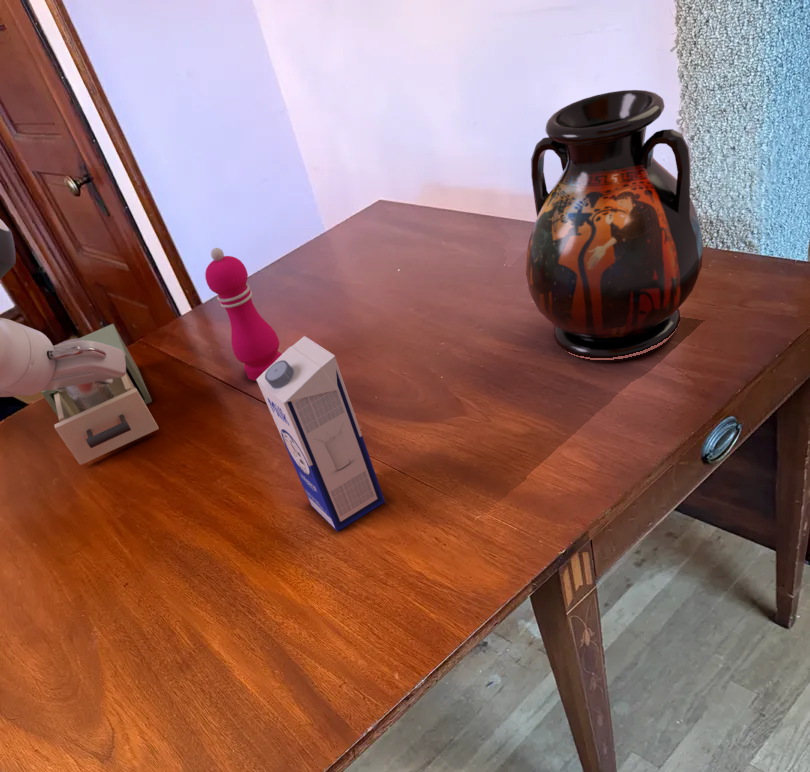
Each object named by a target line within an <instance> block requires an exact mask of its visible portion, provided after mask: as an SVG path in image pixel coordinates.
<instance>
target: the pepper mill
mask: <svg viewBox="0 0 810 772" xmlns="http://www.w3.org/2000/svg"><path fill="white" fill-rule="evenodd" d="M210 257H211V258H212V261H210V262H209V264H208V265H207V267H206V269H205V273H204V275H205V276H204V277H205V281H206V285H207V286H208V288H209V290H210V291H212V292H213V293H215V294H216V295H217V296H216V297H217V301H219V306H221V308H224V310H225V311H226V313H227V316H228V319H229V323H230V331H231V336H230V337H231V348H232V352H233V354H234V357H235V358H236V360H237V361H238V362H240V363H242V364H244V365H243V369H244V371H245V374H246V376H247V378H248V379H249V380H251V381H253V382H257V380H256V379H257V378H258V377H259V376H260V375H261V374H262V373H263V372H264V371H265V370H267V369H268V368H269V367H270V366H271V365H272V364H273V363H274V362H275V361H276V360H277V359H278V358H279V357H280V356H281V355H282V353H281V352H280V351H279V348H280V339H279V336H278V335H277V333H276V331H275V330H274V329H273V327H272V325H270V324H269V323H268V322H267V321H266V320H265V319H264V317H262V315H260V313H259V312H258V310H257V309H256V307H255V305H254V302H253V299H252V297H253V292H252V290H251V286H250V284H248V283H247V282H248V279H249V278H248V277H249V275H248V270H247V268H246V266H245V264H244V263H243V262H242V260H240V259H239V258H237V257H235V256H232V255H225V253H224V251H223V249H221V248H219V247H214V248H213V249H212V250H211V252H210Z"/></svg>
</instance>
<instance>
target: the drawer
mask: <svg viewBox="0 0 810 772" xmlns="http://www.w3.org/2000/svg"><path fill="white" fill-rule="evenodd" d="M109 386H110V388H111V389H112V391H113V393H114V394H115V396H116V397H114V398H112V399H110V400H108V401H106V402H103V403H101V404H99V405H97V406H94V407H92V408H90V409H88V410H86V411H83V412H81V413H80V412H79V410H78V408H77V407H76V405H75V404H74V402H73V401H72V399H71V397H70V396H69V394H68V393H67V391H63V392H60V391H57V392H54V397H55V402H56V407H57V412H58V416H57V418H58V417H59V418H58V421H59V422H57V423H55V424H53V426H54V429H55V430H56V432H57V433H58V435H59V437H60V438H61V439H62V441H63V442H64V444H65V445H66V447H67V448H68V450H69V451H70V453H71V454H72V456H73V457H74V458H75V460H76V461H77V463H78V464H79V465H80V466H83V465H84V464H86V463H88V462H90V461H92V460H95V459H97V458H99V457H102V456H103V455H105V454H106V455H107V454H108V453H110V452H112V451H114V450H116V449H118V448H121V447H123V446H126V445H128V444H129V443H132V442H134V441H136V440H138V439H140V438H142V437H144V436H147V435H149V434H152V433H153V432H155V431H158V430H159V426H158V423H157V422H156V420H155V419H154V417H153V415H152V413H151V411H150V409H149V408H148V406H147V404H145V403H144V401H143V399H142V397H141V396H140V394H139V392H138V390H137V389H136V387H135V385H134V384H133V382H132V380H131V378H130V377H129V375H128V373H127V371H126V373H125V375H124V376H123V377H120V378H114V379H113V382H112V383H109Z"/></svg>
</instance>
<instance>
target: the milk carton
mask: <svg viewBox="0 0 810 772" xmlns="http://www.w3.org/2000/svg"><path fill="white" fill-rule="evenodd" d="M256 380H257V381H256V383H257V384H258V387H259V389H260V392H261V394H262V397H263V399H264V400H265V402H266V405H267V407H268V411H269V412H270V414H271V417H272V418H273V421H274V423H275V426H276V428H277V430H278V432H279V435H280V438H281V439H282V442H283V445H284V447H285V448H286V451H287V453H288V455H289V458H290V461H291V463H292V465H293V467H294V470H295V471H296V474H297V476H298V478H299V481H300V483H301V486H302V488H303V490H304V492H305V495H306V497H307V500H308V501H309V504H310V506H311V507H312V508H313V509H314V510H315V511H316V512H317V513H318V514H319V515H320V516H321V517H322V518H323V519H324V520H325V521H326V522H327V523H328V524H329V525H330V526H331V527H332V529H334V530H335V531H336V532H340V531H341V530H343V529H345V528H346V527H348V526H349V525H351V524H353V523H354V522H356V521H357V520H359V519H361V518H362V517H364V516H366V515H367V514H369V513H370V512H372V511H373V510H375V509H376V508H378V507H380V506H382V505H383V504H385V503H386V500H385V497H384V494H383V492H382V489H381V486H380V483H379V480H378V477H377V475H376V471H375V468H374V466H373V463H372V460H371V457H370V454H369V451H368V448H367V445H366V443H365V440H364V437H363V434H362V431H361V428H360V425H359V422H358V419H357V416H356V414H355V410H354V408H353V404H352V402H351V399H350V397H349V393H348V391H347V388H346V387H347V386H346V385H345V382H344V379H343V376H342V373H341V370H340V368H339V364H338V362H337V358H336V355H334V354H333V353H332V352H330V351H329V350H328V349H325V348H324V347H322V346H321V345H319V344H318V343H317V342H315V341H313V340H312V339H310V338H309V337H307V336H306V335H304V336H302V337H301V338H300V339H299V340H298V341H296V342H295V343H294V344H293V345H292V346H291V345H290V346H289V347H288V348H287V349H286V350H285V351H284V352H283V353H281V356H280V357H279V358H278V359H277V360H276V361H275V362H274V363H273V364H272V365H271V366H270V367H269V368H268V369H267V370H265V371H264V372H263V373H262V374H261V375H260V376H259V377H258V378H257V379H256Z"/></svg>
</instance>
